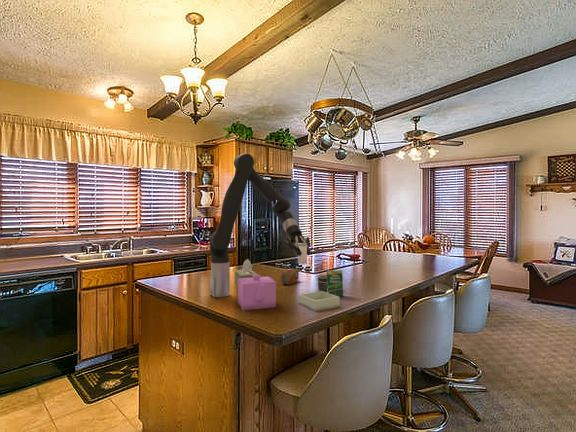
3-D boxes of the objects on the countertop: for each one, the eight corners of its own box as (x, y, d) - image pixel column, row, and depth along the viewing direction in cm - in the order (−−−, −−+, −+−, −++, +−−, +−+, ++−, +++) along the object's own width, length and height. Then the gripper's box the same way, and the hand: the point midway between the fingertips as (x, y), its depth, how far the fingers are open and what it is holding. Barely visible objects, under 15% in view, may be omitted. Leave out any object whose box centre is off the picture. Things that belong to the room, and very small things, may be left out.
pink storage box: (245, 315, 146) (245, 281, 146) (236, 300, 170) (236, 271, 169) (280, 311, 150) (280, 279, 150) (266, 297, 174) (266, 270, 174)
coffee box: (327, 296, 176) (327, 271, 175) (326, 295, 178) (326, 270, 178) (343, 296, 176) (343, 271, 175) (342, 295, 178) (342, 270, 178)
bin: (314, 311, 151) (314, 301, 151) (298, 303, 162) (298, 294, 162) (339, 306, 157) (339, 297, 157) (322, 300, 169) (322, 290, 169)
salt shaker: (301, 264, 171) (301, 243, 171) (296, 262, 175) (296, 243, 174) (308, 263, 173) (308, 243, 173) (303, 262, 177) (303, 242, 177)
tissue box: (258, 288, 195) (258, 260, 195) (241, 290, 192) (241, 261, 191) (250, 282, 213) (250, 256, 212) (234, 283, 209) (234, 257, 209)
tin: (284, 285, 202) (284, 271, 202) (279, 284, 204) (279, 270, 204) (298, 281, 214) (298, 267, 214) (294, 280, 216) (294, 267, 216)
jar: (335, 293, 184) (335, 278, 183) (316, 292, 185) (316, 278, 185) (336, 288, 193) (336, 275, 193) (318, 288, 195) (318, 274, 195)
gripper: (282, 224, 176) (295, 250, 166) (306, 223, 183) (319, 248, 173) (277, 234, 181) (289, 260, 171) (300, 233, 188) (313, 258, 178)
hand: (304, 254), depth 172 cm, fingers closed on salt shaker, 4 cm apart
